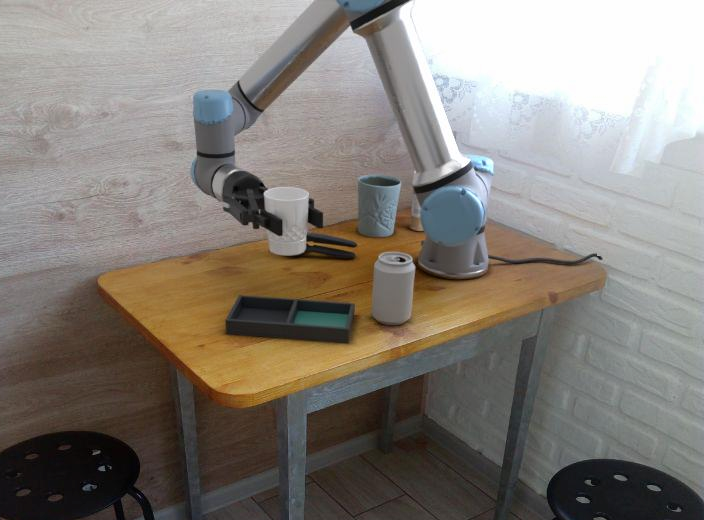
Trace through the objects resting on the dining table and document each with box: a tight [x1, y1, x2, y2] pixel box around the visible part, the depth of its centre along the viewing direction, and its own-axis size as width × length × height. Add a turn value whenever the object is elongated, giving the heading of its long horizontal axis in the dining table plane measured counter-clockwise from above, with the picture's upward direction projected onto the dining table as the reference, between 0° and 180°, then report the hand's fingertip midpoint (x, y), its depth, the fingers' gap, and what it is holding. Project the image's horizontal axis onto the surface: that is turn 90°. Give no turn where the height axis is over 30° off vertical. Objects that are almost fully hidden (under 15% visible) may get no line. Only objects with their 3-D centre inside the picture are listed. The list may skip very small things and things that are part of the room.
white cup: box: [264, 186, 310, 257], centre depth 137 cm, size 8×8×10 cm
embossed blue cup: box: [357, 173, 403, 238], centre depth 181 cm, size 10×10×12 cm
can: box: [371, 251, 416, 326], centre depth 142 cm, size 8×8×12 cm
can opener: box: [291, 229, 358, 260], centre depth 169 cm, size 18×7×6 cm, turn 83°
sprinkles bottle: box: [409, 170, 424, 232], centre depth 183 cm, size 5×5×14 cm
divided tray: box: [224, 294, 356, 344], centre depth 141 cm, size 22×11×3 cm, turn 84°
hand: (301, 224), depth 133 cm, fingers closed on white cup, 7 cm apart
